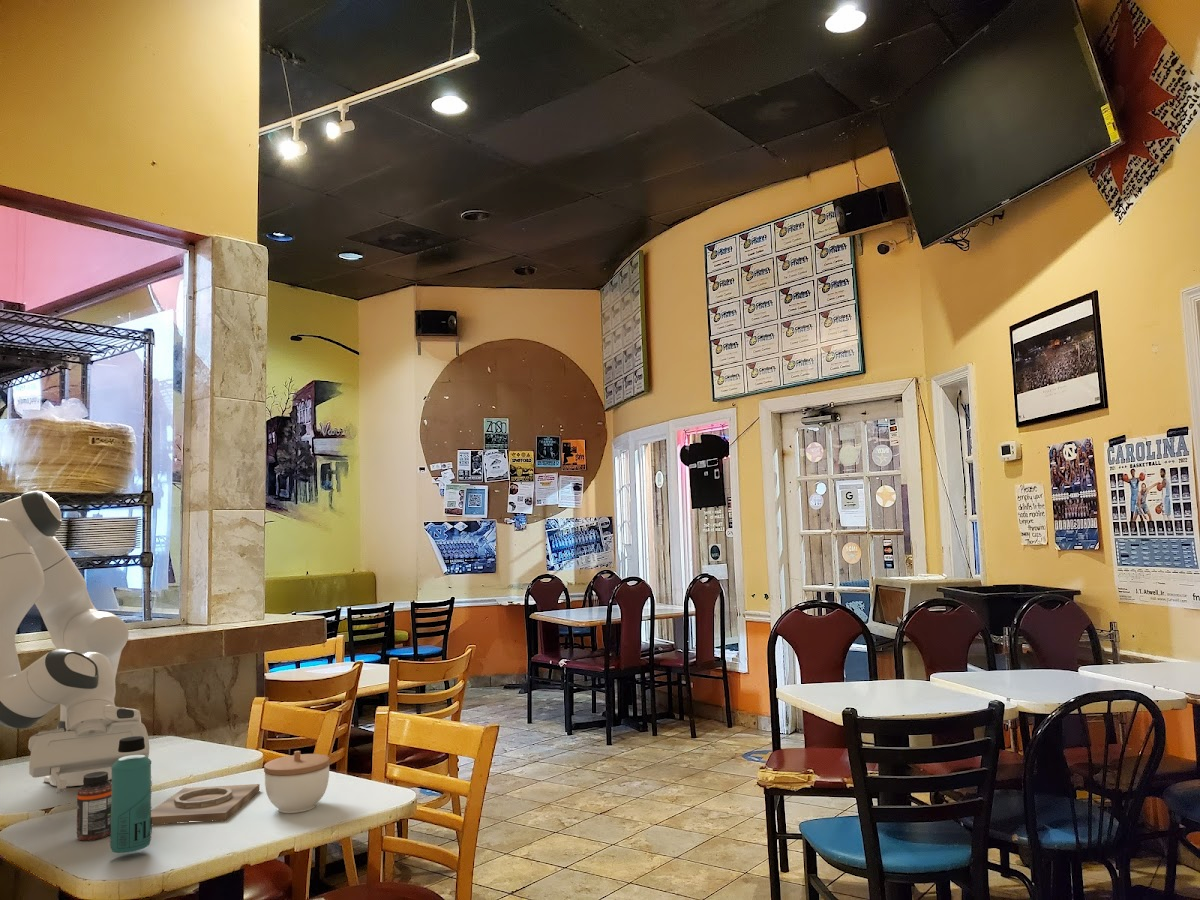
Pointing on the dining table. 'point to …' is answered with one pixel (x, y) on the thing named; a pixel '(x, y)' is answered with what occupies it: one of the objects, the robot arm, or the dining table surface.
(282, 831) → the dining table surface
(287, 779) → the lidded bowl
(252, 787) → the walnut seat board
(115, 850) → the beverage bottle
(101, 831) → the supplement bottle
